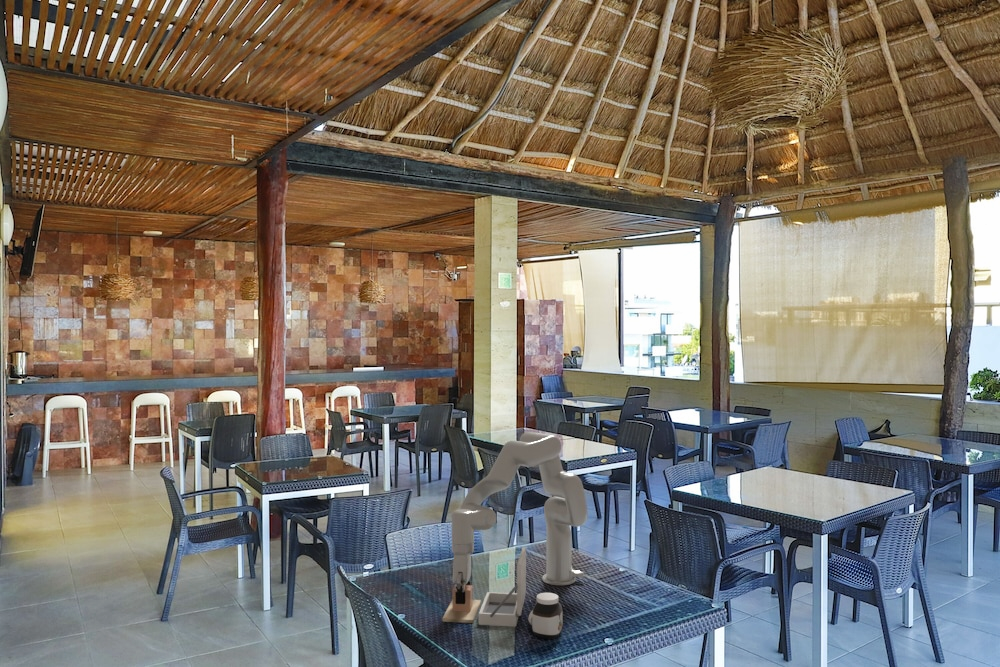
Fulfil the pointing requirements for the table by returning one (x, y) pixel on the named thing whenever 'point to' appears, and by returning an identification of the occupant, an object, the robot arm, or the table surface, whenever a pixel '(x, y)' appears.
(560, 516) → the robot arm
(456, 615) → the oak board
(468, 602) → the block
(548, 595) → the spread jar
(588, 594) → the table surface
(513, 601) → the case
